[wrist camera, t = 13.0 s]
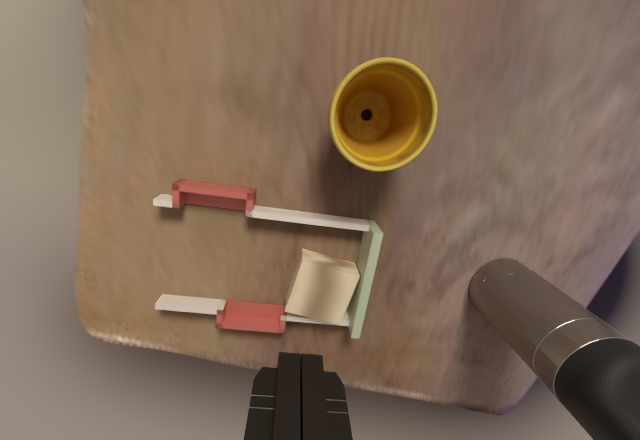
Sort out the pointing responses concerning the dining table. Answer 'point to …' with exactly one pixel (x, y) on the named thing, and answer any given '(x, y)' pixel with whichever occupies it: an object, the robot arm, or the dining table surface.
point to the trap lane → (244, 199)
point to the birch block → (321, 287)
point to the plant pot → (383, 114)
